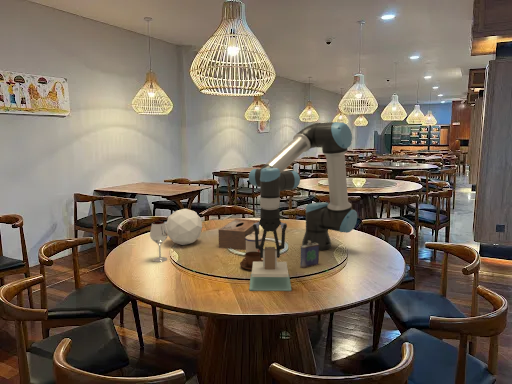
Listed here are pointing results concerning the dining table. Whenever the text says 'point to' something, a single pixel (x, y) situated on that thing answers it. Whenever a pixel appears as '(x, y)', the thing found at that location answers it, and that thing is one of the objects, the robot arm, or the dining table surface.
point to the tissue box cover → (236, 233)
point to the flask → (309, 255)
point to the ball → (184, 226)
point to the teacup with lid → (252, 242)
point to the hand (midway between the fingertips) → (269, 265)
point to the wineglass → (159, 237)
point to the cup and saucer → (250, 260)
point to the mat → (270, 284)
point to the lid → (269, 266)
